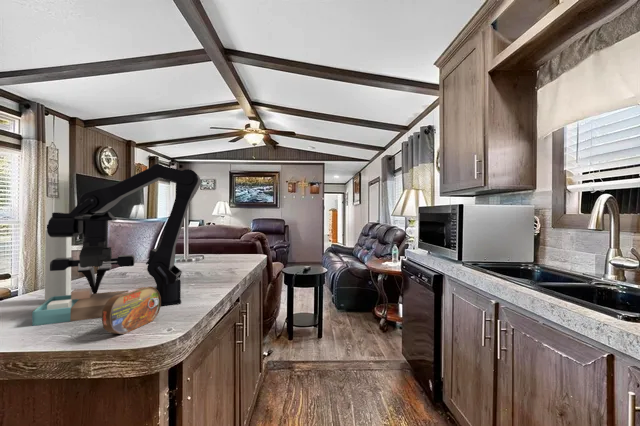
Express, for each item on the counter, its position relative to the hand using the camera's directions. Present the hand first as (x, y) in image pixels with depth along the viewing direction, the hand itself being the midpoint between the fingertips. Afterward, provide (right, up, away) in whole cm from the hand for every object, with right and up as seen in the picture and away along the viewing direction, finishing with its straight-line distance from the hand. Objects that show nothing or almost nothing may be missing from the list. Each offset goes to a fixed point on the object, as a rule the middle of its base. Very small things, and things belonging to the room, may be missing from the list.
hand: (95, 293), depth 88 cm
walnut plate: (+4, -4, -3) cm, 6 cm away
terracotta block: (-3, -1, -1) cm, 3 cm away
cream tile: (-2, -2, -10) cm, 10 cm away
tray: (-4, -4, -7) cm, 9 cm away
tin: (+20, -4, -16) cm, 26 cm away
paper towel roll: (-15, -4, +6) cm, 17 cm away
